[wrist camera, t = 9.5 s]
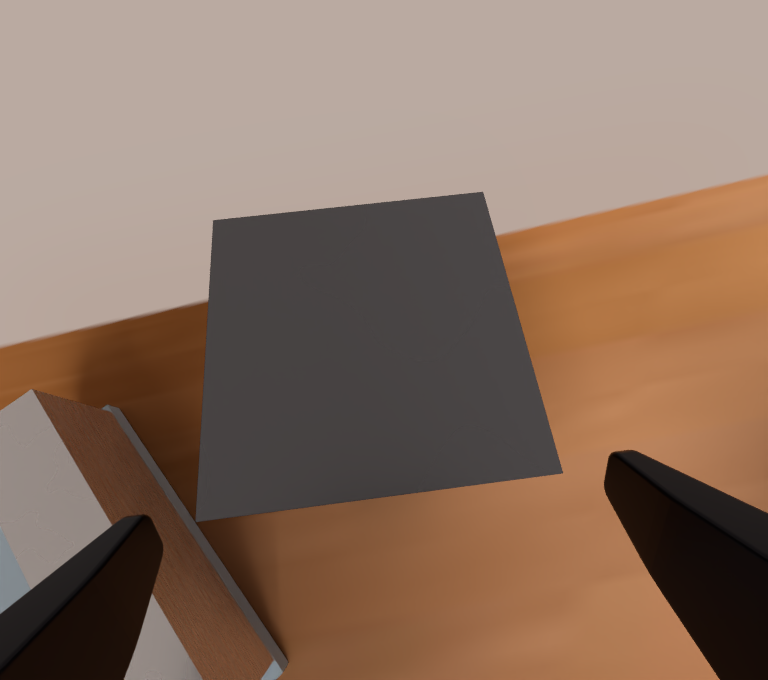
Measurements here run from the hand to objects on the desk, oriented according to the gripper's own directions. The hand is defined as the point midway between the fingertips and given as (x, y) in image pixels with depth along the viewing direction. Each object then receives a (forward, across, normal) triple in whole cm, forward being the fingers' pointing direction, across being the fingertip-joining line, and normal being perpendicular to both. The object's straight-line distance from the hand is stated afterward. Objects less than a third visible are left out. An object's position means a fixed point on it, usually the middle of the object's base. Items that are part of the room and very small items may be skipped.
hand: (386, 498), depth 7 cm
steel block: (+8, 0, +5) cm, 10 cm away
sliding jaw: (+5, +9, +7) cm, 13 cm away
